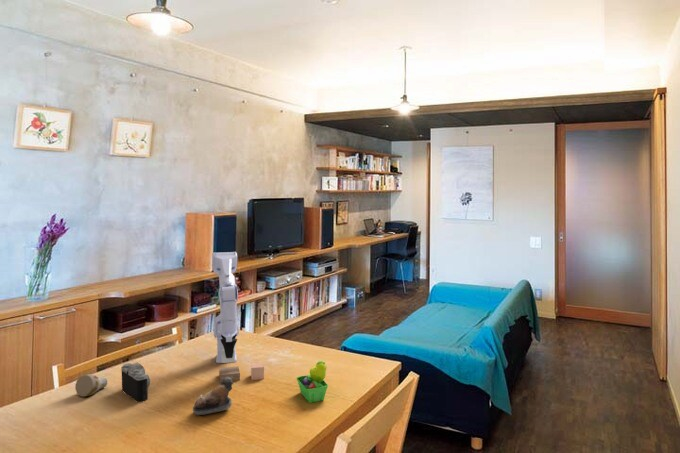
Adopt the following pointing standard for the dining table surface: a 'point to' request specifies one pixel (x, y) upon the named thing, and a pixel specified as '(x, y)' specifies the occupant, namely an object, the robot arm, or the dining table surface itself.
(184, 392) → the dining table surface
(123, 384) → the camera
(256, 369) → the terracotta block
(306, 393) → the fruit basket
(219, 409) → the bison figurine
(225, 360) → the grey block
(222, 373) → the walnut base
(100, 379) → the grey stepped cylinder
